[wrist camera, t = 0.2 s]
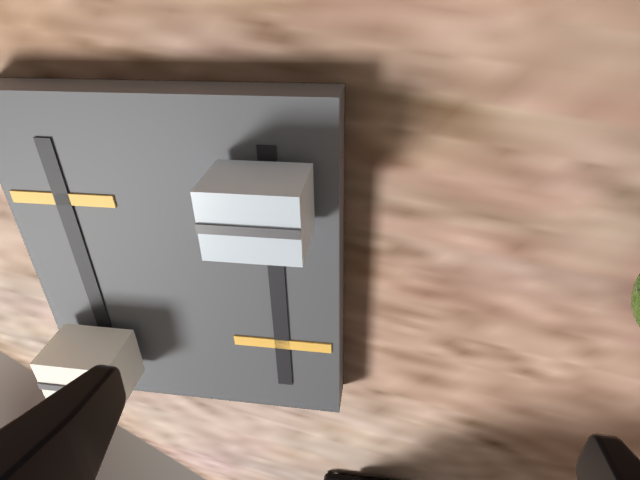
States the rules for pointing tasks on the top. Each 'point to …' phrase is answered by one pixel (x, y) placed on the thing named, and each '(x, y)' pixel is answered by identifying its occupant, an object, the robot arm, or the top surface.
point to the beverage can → (636, 300)
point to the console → (180, 227)
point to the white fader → (255, 212)
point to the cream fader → (87, 356)
